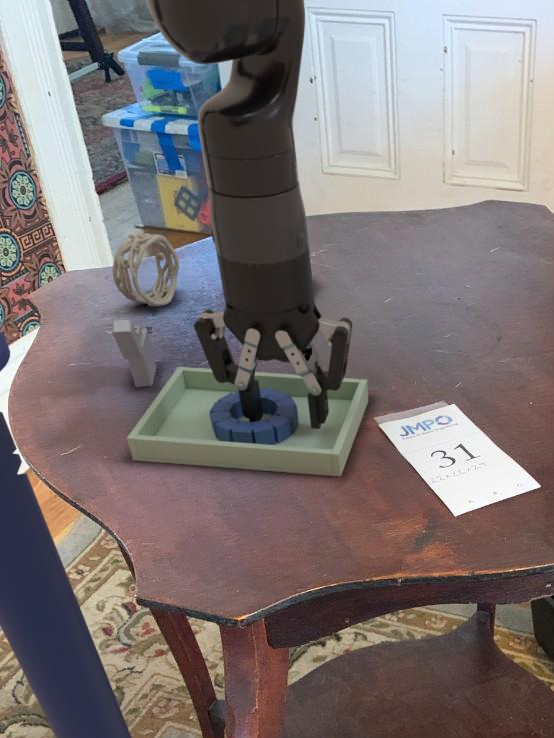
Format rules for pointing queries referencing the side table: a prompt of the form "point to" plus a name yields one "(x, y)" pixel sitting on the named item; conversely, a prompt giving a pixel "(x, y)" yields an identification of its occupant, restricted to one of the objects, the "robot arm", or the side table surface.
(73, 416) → the side table surface
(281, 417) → the ring
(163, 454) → the tray
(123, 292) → the bracelet
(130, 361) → the gray letter y
